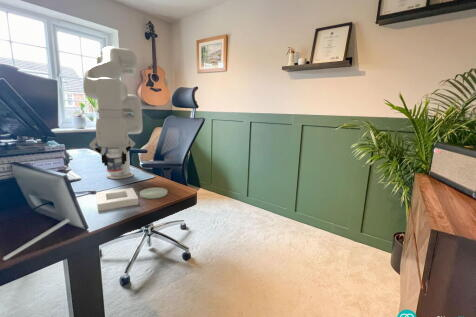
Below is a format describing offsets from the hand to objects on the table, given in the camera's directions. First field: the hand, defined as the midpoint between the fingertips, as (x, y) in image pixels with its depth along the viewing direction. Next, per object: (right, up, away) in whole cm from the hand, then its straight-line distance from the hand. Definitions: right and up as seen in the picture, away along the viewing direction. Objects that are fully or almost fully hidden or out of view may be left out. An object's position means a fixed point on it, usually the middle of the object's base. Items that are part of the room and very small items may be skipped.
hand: (114, 163), depth 85 cm
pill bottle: (0, -3, +1) cm, 3 cm away
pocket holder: (0, -15, +2) cm, 15 cm away
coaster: (+10, -13, +12) cm, 20 cm away
